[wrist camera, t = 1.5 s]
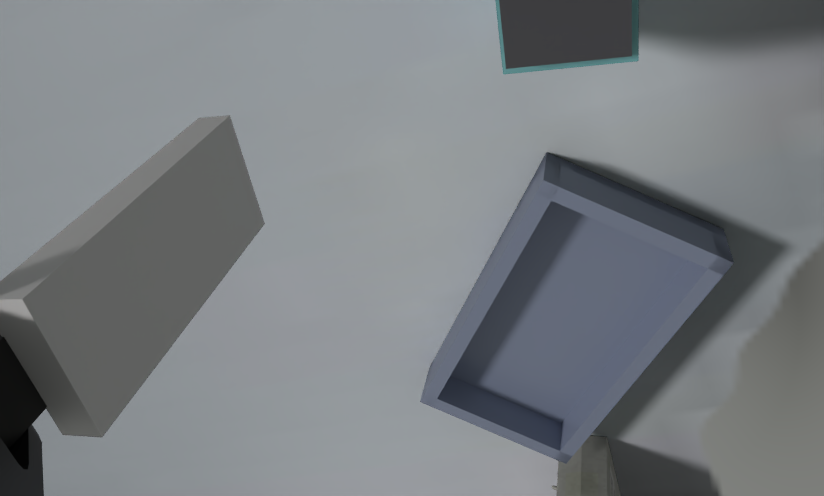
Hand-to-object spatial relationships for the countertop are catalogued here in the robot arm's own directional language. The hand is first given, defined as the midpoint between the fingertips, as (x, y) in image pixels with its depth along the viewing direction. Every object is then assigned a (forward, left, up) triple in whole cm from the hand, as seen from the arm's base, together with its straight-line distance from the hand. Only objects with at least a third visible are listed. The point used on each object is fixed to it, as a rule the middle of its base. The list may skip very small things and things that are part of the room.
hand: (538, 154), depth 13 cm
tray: (+16, +8, -19) cm, 26 cm away
